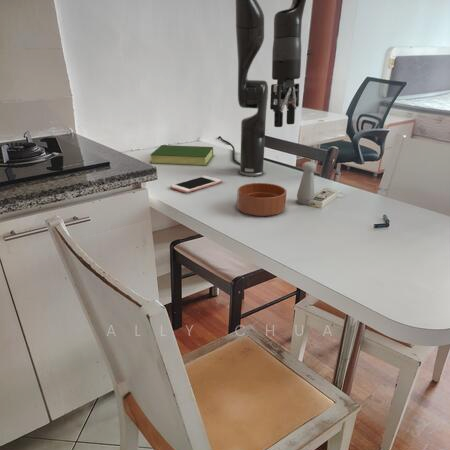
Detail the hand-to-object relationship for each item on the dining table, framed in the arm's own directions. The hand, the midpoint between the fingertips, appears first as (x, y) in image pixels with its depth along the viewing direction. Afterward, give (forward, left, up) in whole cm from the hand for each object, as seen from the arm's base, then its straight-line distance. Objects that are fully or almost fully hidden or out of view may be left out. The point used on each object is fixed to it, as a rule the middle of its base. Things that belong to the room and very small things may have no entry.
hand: (284, 125), depth 115 cm
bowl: (-4, -4, -25) cm, 26 cm away
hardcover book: (-72, -23, -26) cm, 79 cm away
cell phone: (-32, -21, -25) cm, 46 cm away
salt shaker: (-7, +12, -26) cm, 29 cm away
